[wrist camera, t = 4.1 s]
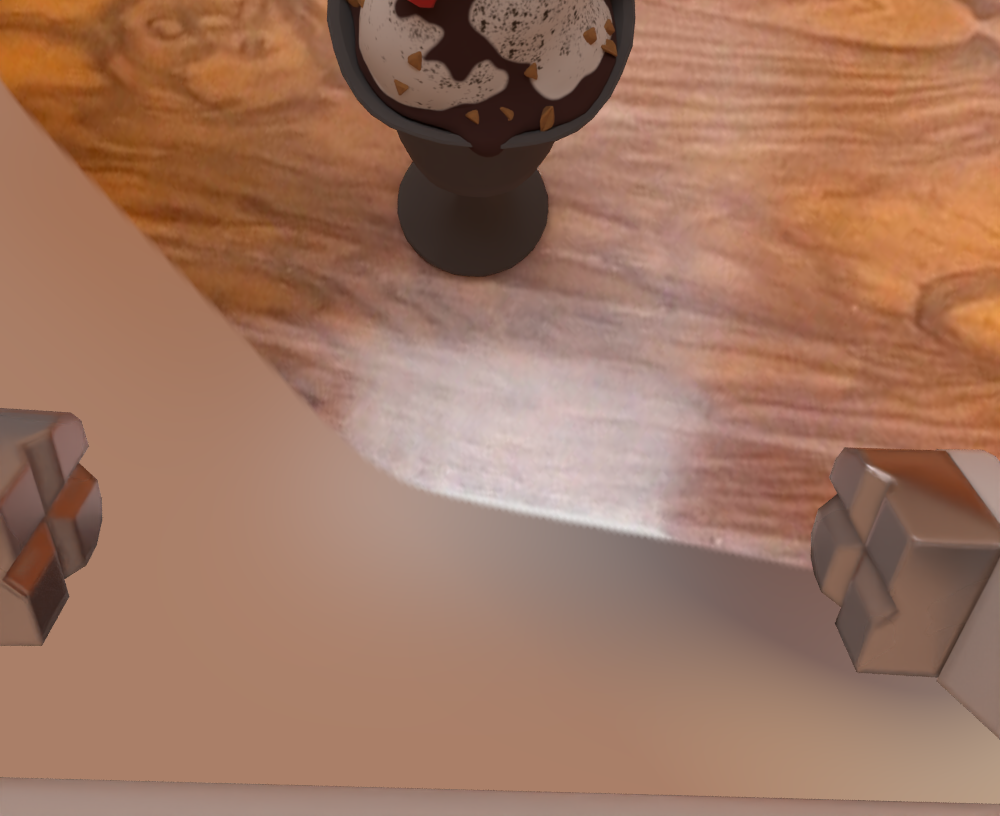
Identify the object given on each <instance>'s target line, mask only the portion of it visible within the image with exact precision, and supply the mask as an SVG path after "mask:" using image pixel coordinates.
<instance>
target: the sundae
mask: <svg viewBox="0 0 1000 816" xmlns="http://www.w3.org/2000/svg"><path fill="white" fill-rule="evenodd" d="M327 22H328V27H329V31H330V36H331V40H332V44H333V49H334V52H335V55H336V58H337V61H338V64H339V67H340V70H341V73H342V75H343V77H344V78H345V80H346V82H347V83H348V85H349V87H350V89H351V90H352V92H353V94H354V95H355V97H356V98H357V100H358V101H359V102H360V103H361V104H362V105H363V106H364V108H365V109H366V110H367V111H368V112H369V113H370V114H371V115H372V116H374V117H375V118H377V119H378V120H380V121H382V122H383V123H385V124H386V125H388V126H389V127H391V128H393V129H396V130H397V132H398V135H399V137H400V140H401V142H402V143H403V145H404V147H405V148H406V150H407V152H408V153H409V155H410V157H411V159H412V160H413V162H412V164H411V165H410V167H409V169H408V170H407V172H406V173H405V176H404V178H403V180H402V182H401V184H400V188H399V194H398V216H399V220H400V224H401V227H402V230H403V232H404V234H405V237H406V239H407V241H408V242H409V243H410V244H411V246H412V247H413V248H414V249H415V251H416V252H417V253H418V254H419V255H420V256H422V257H423V258H424V259H425V260H426V261H427V262H429V263H431V264H432V265H434V266H436V267H438V268H440V269H442V270H445V271H447V272H449V273H452V274H457V275H464V276H486V275H490V274H495V273H498V272H501V271H504V270H506V269H509V268H512V267H513V266H514V265H516V264H517V263H518V262H520V261H521V260H523V259H524V258H525V257H526V256H527V255H528V254H529V253H530V252H531V251H532V250H533V249H534V248H535V246H536V245H537V243H538V241H539V239H540V238H541V236H542V233H543V231H544V229H545V226H546V224H547V215H548V195H547V192H546V189H545V186H544V183H543V180H542V178H541V176H540V174H539V172H538V170H537V168H538V166H539V165H540V164H541V162H542V161H543V160H544V158H545V157H546V156H547V154H548V153H549V151H550V149H551V147H552V146H553V144H554V142H555V141H557V140H559V139H561V138H564V137H566V136H568V135H570V134H572V133H575V132H577V131H578V130H580V129H581V128H582V127H583V126H585V125H586V124H587V123H588V122H589V121H591V120H592V119H593V118H594V117H595V115H596V114H597V113H598V112H599V110H600V109H601V108H602V107H603V105H604V104H605V103H606V102H607V101H608V99H609V98H610V97H611V95H612V93H613V91H614V89H615V87H616V85H617V83H618V81H619V79H620V77H621V75H622V73H623V70H624V67H625V65H626V62H627V59H628V57H629V54H630V51H631V49H632V46H633V36H634V27H635V0H328V8H327Z"/></svg>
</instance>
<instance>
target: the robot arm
mask: <svg viewBox="0 0 1000 816" xmlns="http://www.w3.org/2000/svg"><path fill="white" fill-rule="evenodd" d="M88 447H89V445H88V442H87V438H86V435H85V432H84V428H83V425H82V421H81V420H80V419H79V418H77V417H76V416H75V415H73V414H72V413H68V412H53V411H38V410H21V409H5V408H0V645H1V646H42V645H43V643H44V641H45V639H46V638H47V636H48V634H49V632H50V630H51V629H52V626H53V625H54V623H55V621H56V620H57V618H58V616H59V614H60V612H61V610H62V609H63V607H64V605H65V603H66V601H67V600H68V598H69V594H68V591H67V587H66V583H65V580H64V579H66V578H67V577H69V576H70V575H72V574H73V573H75V572H77V571H78V570H79V569H81V568H83V567H84V566H86V565H87V563H88V561H89V559H90V557H91V555H92V553H93V551H94V549H95V547H96V545H97V541H98V537H99V532H100V527H101V523H102V498H101V494H100V490H99V486H98V481H97V479H96V478H95V477H93V476H92V475H91V474H90V473H89V472H88V471H87V470H86V469H85V468H84V467H83V466H81V465H80V464H79V461H80V459H81V458H82V456H83V455H84V453H85V452H86V450H87V448H88ZM829 478H830V480H831V482H832V484H833V486H834V488H835V490H836V492H837V495H835V496H834V497H833V498H832V499H830V500H829V501H828V502H827V503H825V504H824V505H823V506H822V507H820V508H819V509H818V512H817V516H816V519H815V522H814V526H813V529H812V533H811V561H812V566H813V571H814V575H815V578H816V580H817V582H818V585H819V587H820V590H821V592H822V593H823V594H825V595H826V596H827V597H828V598H830V599H831V600H832V601H834V602H835V603H836V604H837V605H839V606H840V607H841V609H840V612H839V614H838V617H837V619H836V622H835V625H836V627H837V629H838V631H839V634H840V636H841V638H842V640H843V643H844V645H845V647H846V649H847V652H848V654H849V656H850V658H851V660H852V663H853V665H854V667H855V670H856V672H858V673H872V674H889V675H906V676H924V677H938V679H937V682H938V683H939V684H940V685H941V686H942V687H944V688H945V689H946V690H947V691H948V692H949V693H950V694H951V695H952V696H953V697H954V698H956V699H957V700H958V701H959V702H960V703H961V704H962V705H963V706H964V707H965V708H966V709H967V710H968V711H970V712H971V713H972V714H973V715H974V716H975V717H976V718H977V719H978V720H979V721H981V722H982V723H983V724H984V725H985V726H986V727H987V728H988V729H989V730H990V731H991V732H993V733H994V734H995V735H996V736H997V737H998V738H999V739H1000V461H999V460H998V459H997V457H996V456H994V455H992V454H990V453H988V452H986V451H984V450H960V449H937V450H910V449H878V448H846V447H845V448H844V449H843V450H842V452H841V453H840V454H839V456H838V457H837V458H836V460H835V463H834V466H833V468H832V471H831V474H830V477H829ZM0 816H1000V804H978V803H977V804H976V803H940V802H901V801H899V802H898V801H865V800H826V799H792V798H791V799H790V798H789V799H788V798H755V797H717V796H715V797H714V796H681V795H643V794H606V793H571V792H532V791H495V790H493V791H492V790H457V789H420V788H417V789H416V788H382V787H341V786H306V785H269V784H268V785H267V784H231V783H230V784H229V783H193V782H156V781H117V780H81V779H80V780H78V779H43V778H40V779H39V778H4V777H0Z"/></svg>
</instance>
